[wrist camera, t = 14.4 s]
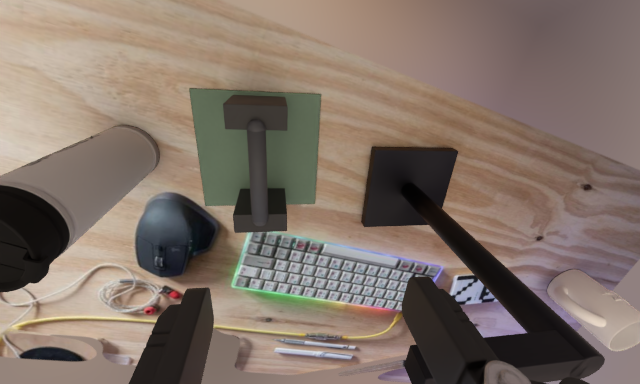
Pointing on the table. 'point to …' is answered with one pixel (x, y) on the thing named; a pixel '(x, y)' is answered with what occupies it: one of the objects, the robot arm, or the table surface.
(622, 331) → the mug
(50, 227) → the travel mug
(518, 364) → the stand
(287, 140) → the desk mat
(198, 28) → the table surface
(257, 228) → the square-ended dumbbell
